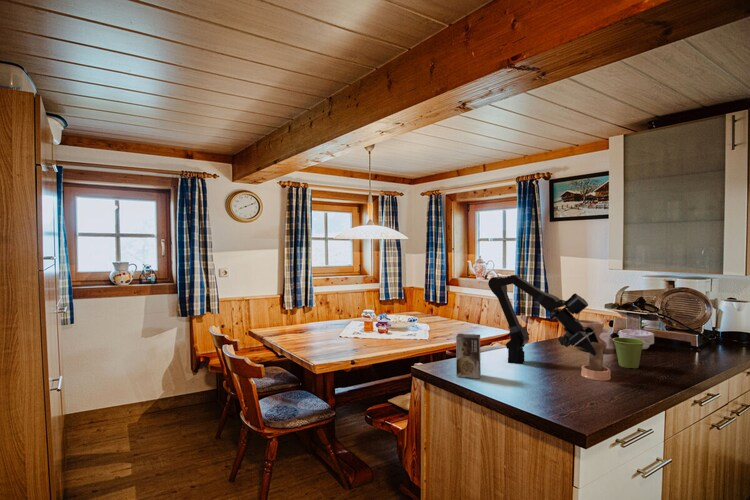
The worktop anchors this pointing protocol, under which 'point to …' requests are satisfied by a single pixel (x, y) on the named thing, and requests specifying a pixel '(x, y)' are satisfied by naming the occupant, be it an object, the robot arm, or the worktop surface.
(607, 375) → the tan shallow dish
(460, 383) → the worktop surface
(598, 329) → the ceramic jug
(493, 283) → the robot arm
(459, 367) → the coffee box
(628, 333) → the paper bowls
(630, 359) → the plant pot
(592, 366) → the tall square post
